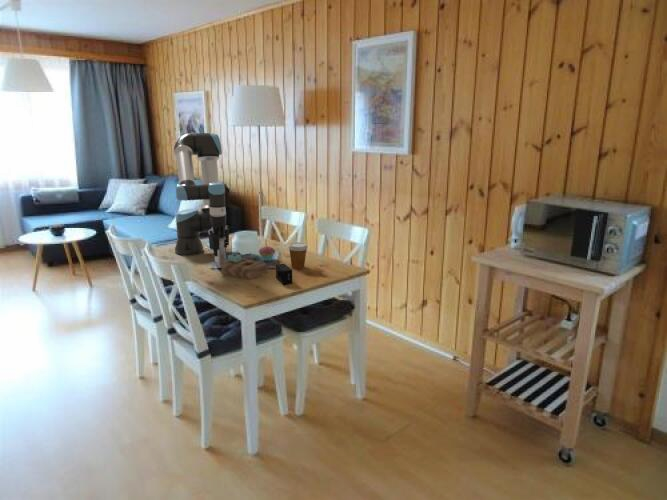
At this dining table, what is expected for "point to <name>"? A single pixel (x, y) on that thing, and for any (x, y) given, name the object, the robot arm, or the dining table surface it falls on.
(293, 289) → the dining table surface
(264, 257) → the cupcake
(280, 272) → the digital camera
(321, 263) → the dining table surface
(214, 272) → the dining table surface
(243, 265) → the hitch block
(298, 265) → the disposable coffee cup
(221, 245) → the grey stone pillar
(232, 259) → the keeper
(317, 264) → the dining table surface
